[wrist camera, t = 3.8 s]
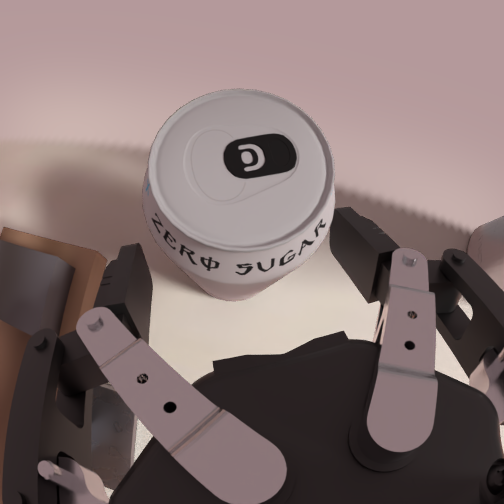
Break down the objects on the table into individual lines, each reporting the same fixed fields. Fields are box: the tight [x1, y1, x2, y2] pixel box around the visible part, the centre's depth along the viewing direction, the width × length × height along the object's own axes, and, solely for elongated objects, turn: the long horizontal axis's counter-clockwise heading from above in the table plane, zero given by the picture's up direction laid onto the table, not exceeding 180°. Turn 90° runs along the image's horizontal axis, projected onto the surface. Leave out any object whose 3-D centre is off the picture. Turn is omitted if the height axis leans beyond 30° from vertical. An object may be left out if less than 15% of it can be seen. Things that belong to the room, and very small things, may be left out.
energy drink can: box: [142, 89, 335, 301], centre depth 14 cm, size 6×6×15 cm
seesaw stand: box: [91, 383, 138, 490], centre depth 15 cm, size 12×10×6 cm
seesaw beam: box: [0, 227, 107, 504], centre depth 9 cm, size 9×28×4 cm, turn 169°
